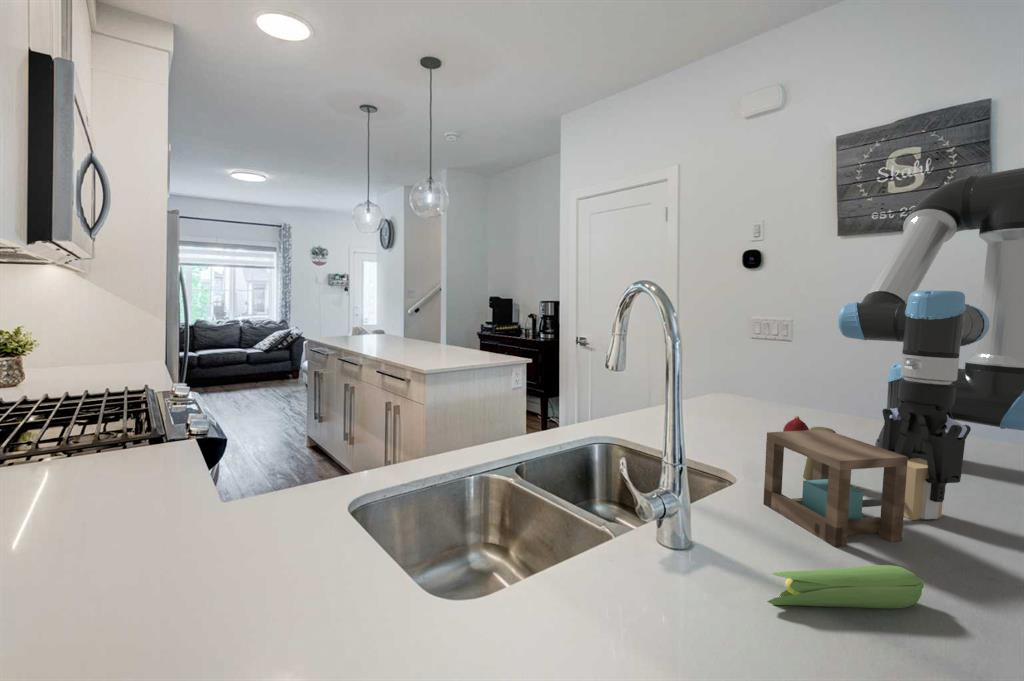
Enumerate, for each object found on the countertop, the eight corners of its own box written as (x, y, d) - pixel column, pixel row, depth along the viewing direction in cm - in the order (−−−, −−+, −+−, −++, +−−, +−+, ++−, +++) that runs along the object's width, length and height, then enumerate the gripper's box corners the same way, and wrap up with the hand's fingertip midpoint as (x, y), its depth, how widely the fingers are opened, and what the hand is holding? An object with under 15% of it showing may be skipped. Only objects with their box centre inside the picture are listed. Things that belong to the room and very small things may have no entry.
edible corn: (942, 585, 58) (913, 554, 62) (772, 588, 58) (754, 558, 62) (930, 616, 60) (902, 585, 64) (765, 620, 60) (748, 588, 64)
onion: (813, 450, 122) (815, 418, 122) (790, 450, 122) (792, 418, 122) (800, 443, 128) (802, 413, 127) (778, 443, 128) (779, 413, 127)
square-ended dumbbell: (911, 504, 90) (915, 456, 89) (945, 519, 84) (949, 468, 83) (801, 514, 86) (804, 463, 85) (829, 529, 80) (832, 476, 79)
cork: (842, 486, 99) (845, 432, 98) (809, 483, 100) (812, 430, 99) (829, 475, 105) (832, 424, 104) (798, 473, 106) (801, 423, 105)
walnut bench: (820, 499, 92) (824, 429, 91) (901, 540, 77) (907, 456, 75) (763, 503, 90) (766, 432, 89) (835, 547, 74) (840, 461, 73)
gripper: (863, 372, 93) (852, 492, 94) (964, 389, 75) (948, 536, 77) (897, 373, 94) (886, 491, 96) (1003, 389, 77) (987, 534, 78)
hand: (913, 511), depth 86 cm, fingers closed on square-ended dumbbell, 4 cm apart
